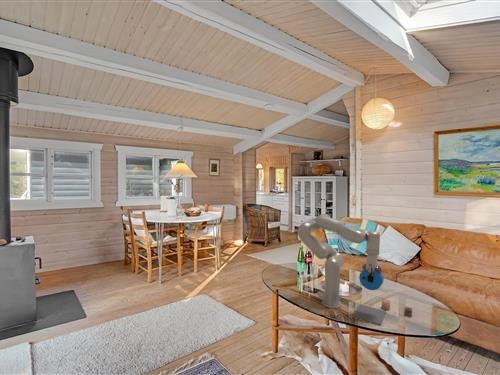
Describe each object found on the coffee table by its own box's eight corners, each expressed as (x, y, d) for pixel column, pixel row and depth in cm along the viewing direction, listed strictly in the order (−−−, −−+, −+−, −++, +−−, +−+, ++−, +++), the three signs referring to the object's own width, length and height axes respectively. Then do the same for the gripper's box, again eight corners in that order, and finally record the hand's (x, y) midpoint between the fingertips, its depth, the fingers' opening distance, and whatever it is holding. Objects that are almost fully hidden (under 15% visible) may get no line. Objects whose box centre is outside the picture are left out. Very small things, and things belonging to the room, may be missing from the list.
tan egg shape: (380, 308, 193) (381, 301, 192) (382, 305, 197) (382, 298, 197) (389, 310, 190) (389, 303, 190) (390, 307, 194) (390, 300, 194)
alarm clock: (383, 290, 182) (384, 265, 182) (381, 293, 177) (382, 268, 177) (361, 285, 190) (362, 261, 189) (358, 287, 185) (359, 264, 184)
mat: (352, 317, 180) (352, 316, 179) (359, 305, 196) (359, 304, 196) (380, 325, 171) (380, 324, 171) (386, 312, 188) (386, 310, 188)
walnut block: (404, 315, 184) (404, 309, 184) (404, 312, 188) (405, 306, 187) (411, 317, 182) (411, 310, 182) (411, 314, 185) (412, 308, 185)
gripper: (368, 247, 192) (367, 275, 193) (363, 253, 177) (362, 283, 178) (381, 249, 188) (380, 277, 189) (376, 255, 173) (375, 286, 174)
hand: (371, 280), depth 183 cm, fingers closed on alarm clock, 6 cm apart
